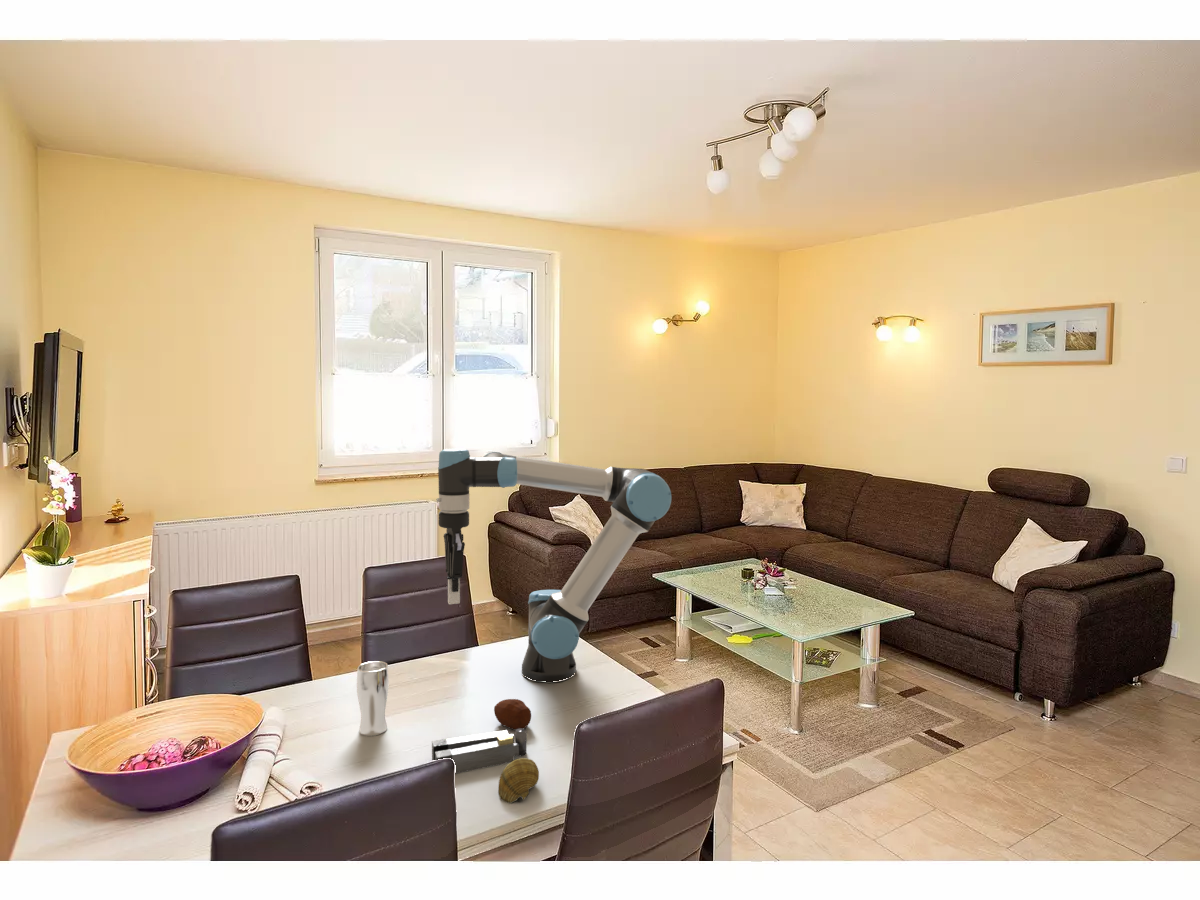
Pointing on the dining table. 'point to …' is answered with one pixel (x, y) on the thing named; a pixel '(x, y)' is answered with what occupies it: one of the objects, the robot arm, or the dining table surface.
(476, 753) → the tongs base
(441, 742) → the tong jaw
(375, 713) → the beer glass
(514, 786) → the seashell
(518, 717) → the potato
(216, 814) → the dining table surface
